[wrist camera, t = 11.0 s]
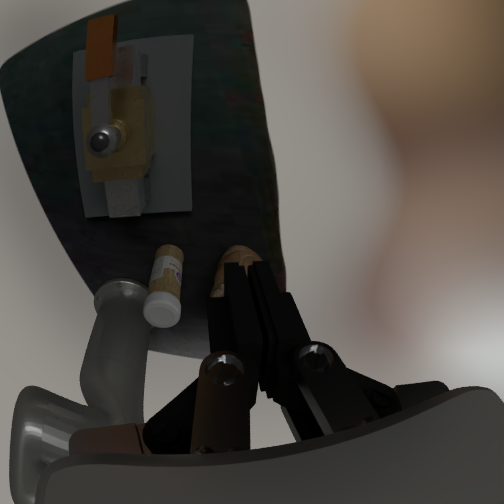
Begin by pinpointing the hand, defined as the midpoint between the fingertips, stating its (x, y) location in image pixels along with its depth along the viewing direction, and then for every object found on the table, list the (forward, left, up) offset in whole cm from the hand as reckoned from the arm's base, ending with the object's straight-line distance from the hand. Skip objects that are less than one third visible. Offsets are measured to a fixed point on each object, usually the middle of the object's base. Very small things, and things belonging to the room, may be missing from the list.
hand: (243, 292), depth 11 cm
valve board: (+4, +11, -29) cm, 31 cm away
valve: (+4, +11, -28) cm, 30 cm away
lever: (+9, +11, -18) cm, 23 cm away
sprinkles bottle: (-16, +7, -29) cm, 34 cm away
